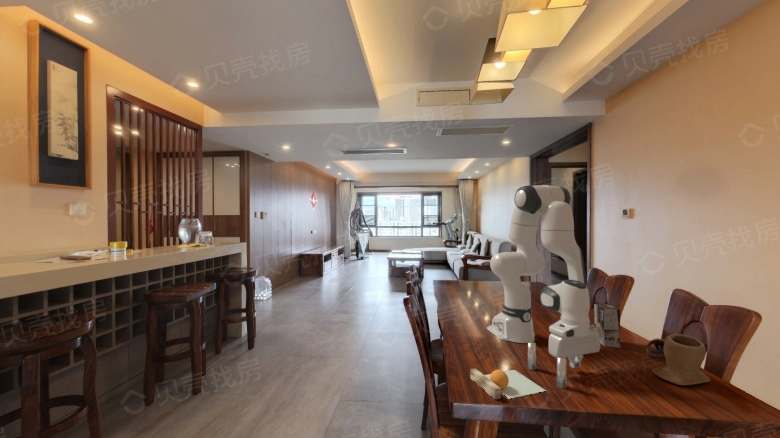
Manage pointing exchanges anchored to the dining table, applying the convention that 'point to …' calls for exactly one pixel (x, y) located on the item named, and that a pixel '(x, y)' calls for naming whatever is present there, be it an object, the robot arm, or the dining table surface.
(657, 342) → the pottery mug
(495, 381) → the ball
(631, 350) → the dining table surface
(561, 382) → the post
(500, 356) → the dining table surface
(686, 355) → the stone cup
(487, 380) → the wall
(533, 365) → the post
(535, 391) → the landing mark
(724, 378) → the dining table surface
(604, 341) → the coffee box
